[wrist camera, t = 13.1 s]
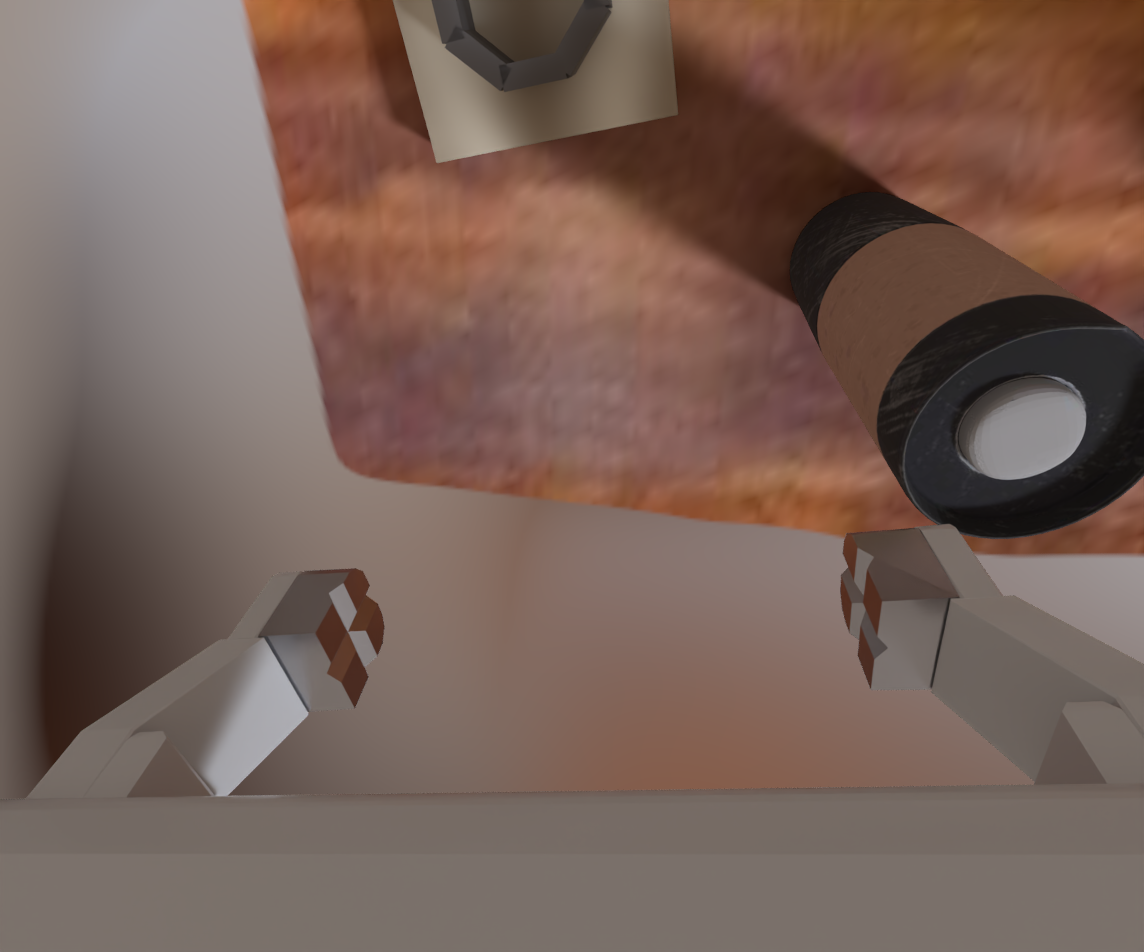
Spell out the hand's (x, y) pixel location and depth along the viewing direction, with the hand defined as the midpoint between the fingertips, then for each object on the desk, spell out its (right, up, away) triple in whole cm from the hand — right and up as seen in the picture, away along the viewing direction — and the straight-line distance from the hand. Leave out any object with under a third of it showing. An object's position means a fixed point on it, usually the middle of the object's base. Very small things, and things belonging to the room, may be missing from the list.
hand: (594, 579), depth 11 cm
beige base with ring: (-2, +25, +20) cm, 32 cm away
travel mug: (+15, +14, +25) cm, 32 cm away
